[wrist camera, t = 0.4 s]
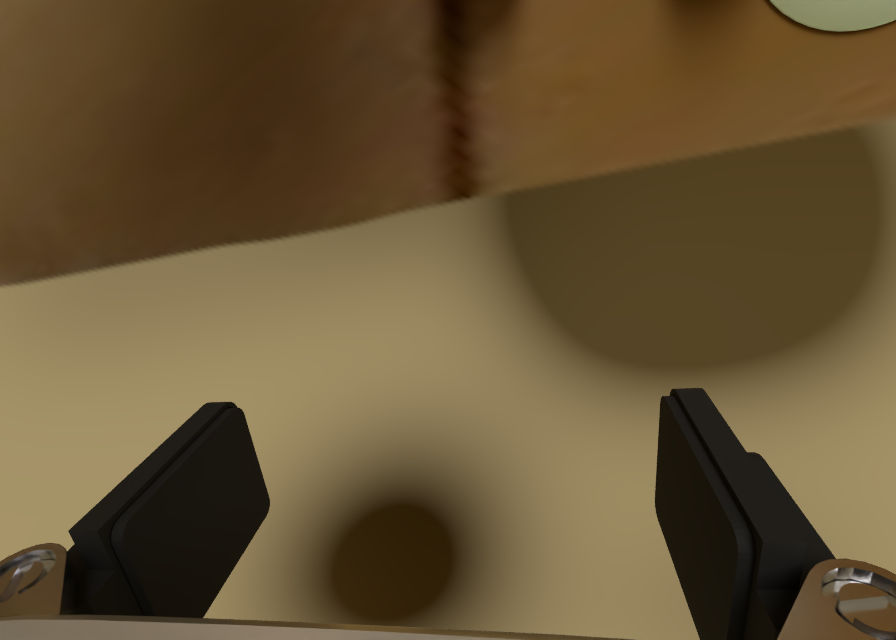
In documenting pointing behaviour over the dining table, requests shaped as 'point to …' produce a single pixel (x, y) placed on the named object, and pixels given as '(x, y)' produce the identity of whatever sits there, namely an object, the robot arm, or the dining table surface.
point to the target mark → (838, 13)
